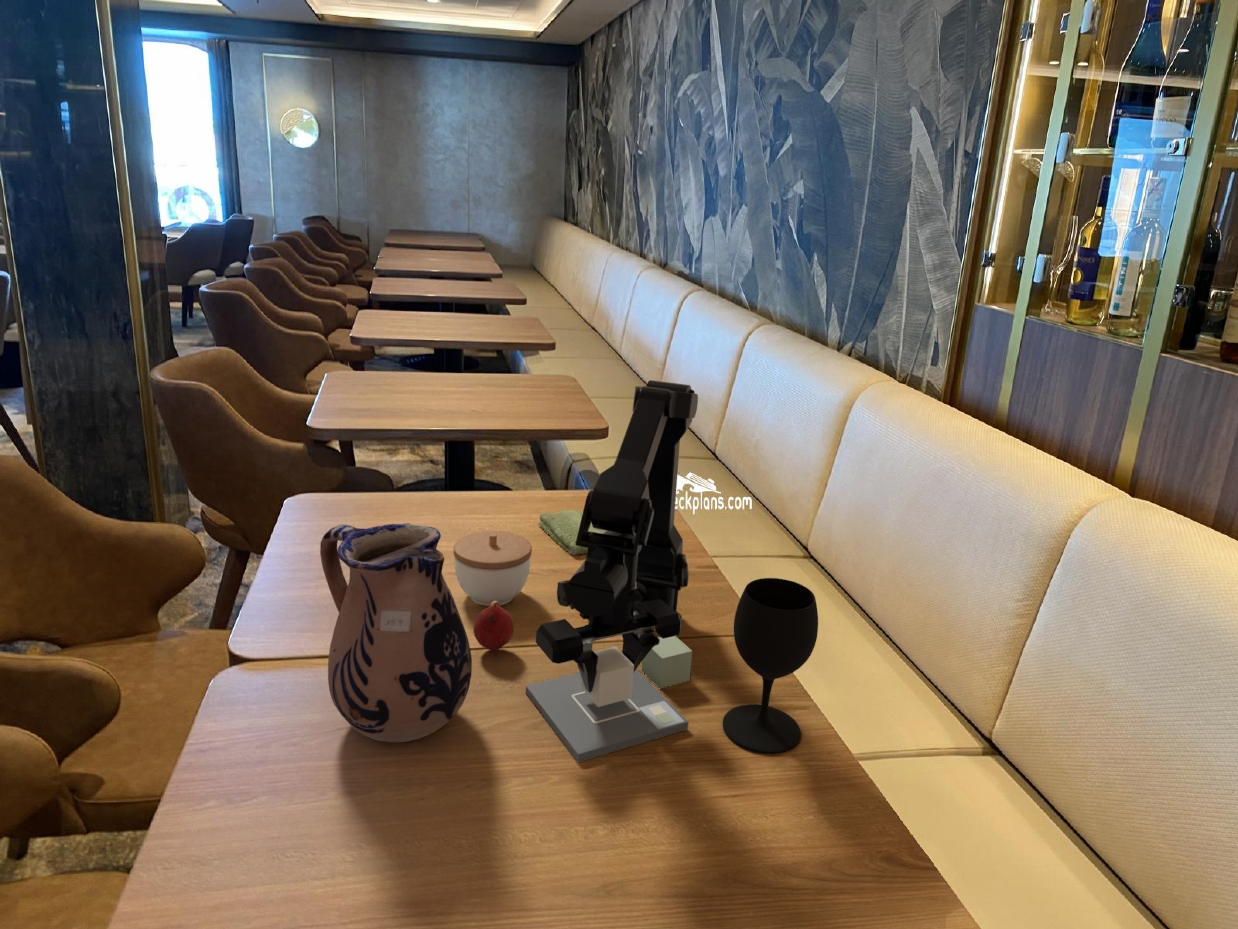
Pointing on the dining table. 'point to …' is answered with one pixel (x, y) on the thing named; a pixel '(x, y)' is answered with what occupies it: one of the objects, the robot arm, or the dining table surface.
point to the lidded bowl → (492, 565)
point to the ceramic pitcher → (394, 632)
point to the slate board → (604, 716)
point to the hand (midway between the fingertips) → (606, 686)
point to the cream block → (611, 677)
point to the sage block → (668, 662)
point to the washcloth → (565, 529)
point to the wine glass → (771, 658)
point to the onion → (493, 627)
